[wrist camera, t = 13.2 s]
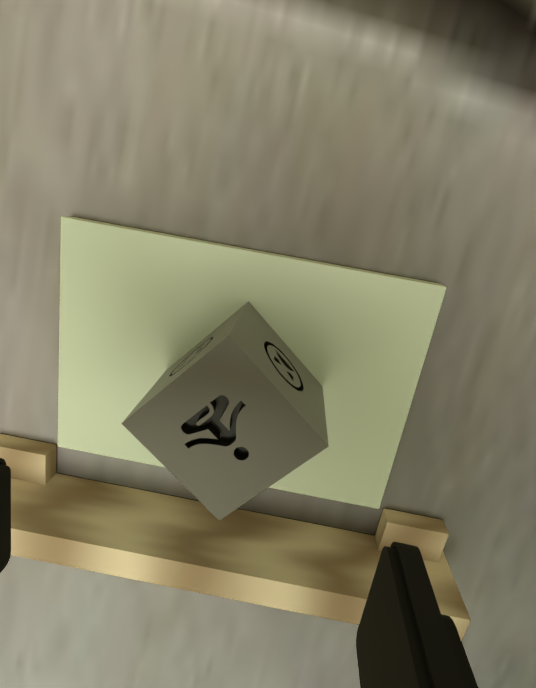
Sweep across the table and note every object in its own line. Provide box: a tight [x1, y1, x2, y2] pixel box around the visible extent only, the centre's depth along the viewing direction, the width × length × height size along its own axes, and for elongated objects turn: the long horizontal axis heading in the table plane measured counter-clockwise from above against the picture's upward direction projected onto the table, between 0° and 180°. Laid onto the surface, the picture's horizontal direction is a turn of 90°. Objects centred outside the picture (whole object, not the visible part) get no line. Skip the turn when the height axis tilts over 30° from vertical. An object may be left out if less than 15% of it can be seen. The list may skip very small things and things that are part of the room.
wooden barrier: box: [0, 434, 471, 642], centre depth 21 cm, size 24×5×4 cm, turn 80°
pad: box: [58, 216, 447, 509], centre depth 20 cm, size 16×11×1 cm
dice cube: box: [121, 301, 329, 520], centre depth 17 cm, size 5×5×5 cm
